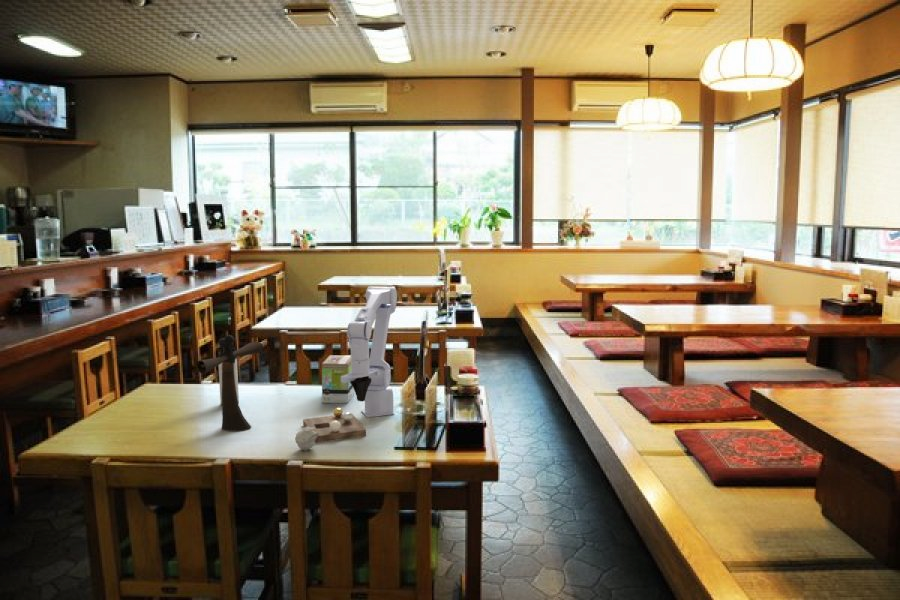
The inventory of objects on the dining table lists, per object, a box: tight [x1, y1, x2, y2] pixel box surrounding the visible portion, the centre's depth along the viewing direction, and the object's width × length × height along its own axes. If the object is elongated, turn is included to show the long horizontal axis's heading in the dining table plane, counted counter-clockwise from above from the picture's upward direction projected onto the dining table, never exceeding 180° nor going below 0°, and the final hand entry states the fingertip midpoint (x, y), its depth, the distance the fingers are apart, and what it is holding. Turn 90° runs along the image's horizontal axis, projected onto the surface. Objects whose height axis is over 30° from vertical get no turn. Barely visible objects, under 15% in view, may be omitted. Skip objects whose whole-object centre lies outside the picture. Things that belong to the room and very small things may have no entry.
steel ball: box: [343, 412, 353, 423], centre depth 210 cm, size 3×3×3 cm
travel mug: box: [217, 347, 240, 407], centre depth 236 cm, size 6×7×20 cm
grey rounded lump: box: [294, 427, 318, 452], centre depth 191 cm, size 6×7×7 cm
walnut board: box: [302, 412, 367, 444], centre depth 208 cm, size 16×18×2 cm
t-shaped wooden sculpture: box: [196, 334, 264, 432], centre depth 210 cm, size 32×10×30 cm, turn 165°
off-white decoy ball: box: [330, 420, 341, 432], centre depth 201 cm, size 3×3×3 cm
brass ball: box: [332, 407, 344, 417], centre depth 215 cm, size 3×3×3 cm
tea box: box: [321, 354, 356, 404], centre depth 244 cm, size 15×10×15 cm
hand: (361, 400), depth 211 cm, fingers closed
